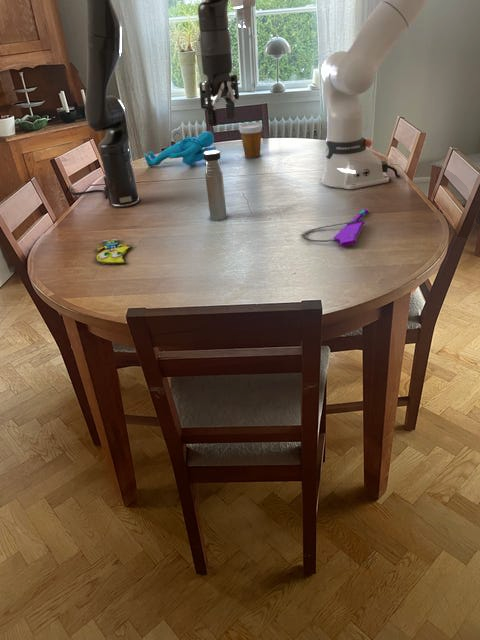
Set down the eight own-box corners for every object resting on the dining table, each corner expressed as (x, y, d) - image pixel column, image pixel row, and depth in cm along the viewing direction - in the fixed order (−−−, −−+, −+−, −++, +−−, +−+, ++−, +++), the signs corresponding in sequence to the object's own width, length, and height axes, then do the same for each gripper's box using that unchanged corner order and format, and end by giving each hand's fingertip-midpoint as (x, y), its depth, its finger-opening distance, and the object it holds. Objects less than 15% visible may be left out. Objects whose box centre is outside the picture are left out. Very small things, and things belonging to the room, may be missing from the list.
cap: (223, 159, 135) (222, 152, 134) (207, 162, 133) (206, 155, 132) (216, 155, 138) (216, 149, 137) (201, 158, 137) (200, 152, 136)
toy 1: (135, 237, 135) (125, 260, 122) (135, 240, 135) (125, 263, 123) (99, 239, 135) (85, 263, 122) (100, 242, 135) (86, 266, 123)
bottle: (229, 218, 144) (223, 153, 134) (214, 221, 143) (206, 157, 132) (222, 213, 148) (216, 150, 138) (207, 217, 146) (200, 153, 136)
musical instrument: (305, 254, 121) (386, 239, 118) (304, 246, 120) (385, 231, 117) (298, 224, 142) (366, 211, 139) (297, 217, 141) (366, 204, 138)
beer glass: (264, 157, 198) (262, 127, 191) (241, 159, 198) (238, 129, 192) (263, 152, 206) (261, 122, 199) (241, 153, 206) (239, 124, 200)
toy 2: (152, 145, 206) (216, 125, 196) (162, 169, 211) (224, 150, 201) (137, 155, 193) (205, 134, 182) (148, 181, 198) (214, 162, 187)
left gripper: (219, 49, 124) (225, 116, 133) (186, 55, 114) (195, 127, 123) (244, 48, 120) (248, 117, 129) (212, 54, 111) (219, 128, 119)
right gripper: (259, -38, 120) (262, 26, 128) (246, -31, 137) (249, 25, 145) (234, -36, 120) (239, 28, 127) (224, -29, 137) (228, 27, 144)
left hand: (222, 122), depth 126 cm, fingers open, 8 cm apart
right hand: (244, 27), depth 136 cm, fingers open, 8 cm apart
